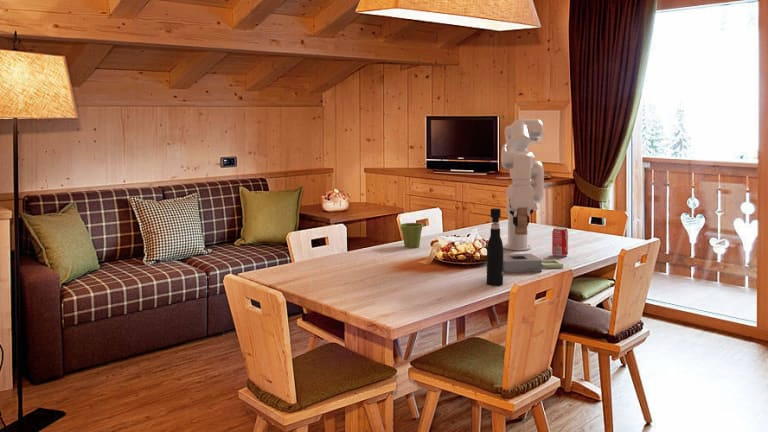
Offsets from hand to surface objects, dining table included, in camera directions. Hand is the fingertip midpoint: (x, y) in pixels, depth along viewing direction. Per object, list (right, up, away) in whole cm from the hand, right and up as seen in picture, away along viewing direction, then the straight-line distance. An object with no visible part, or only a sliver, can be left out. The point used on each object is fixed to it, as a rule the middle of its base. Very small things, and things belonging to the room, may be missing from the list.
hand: (521, 225), depth 321 cm
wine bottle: (-15, -23, -23) cm, 36 cm away
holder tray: (+14, -18, +7) cm, 24 cm away
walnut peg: (0, -4, 0) cm, 4 cm away
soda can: (+23, -15, +28) cm, 40 cm away
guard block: (-1, -19, +3) cm, 19 cm away
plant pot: (-45, -12, +53) cm, 70 cm away
